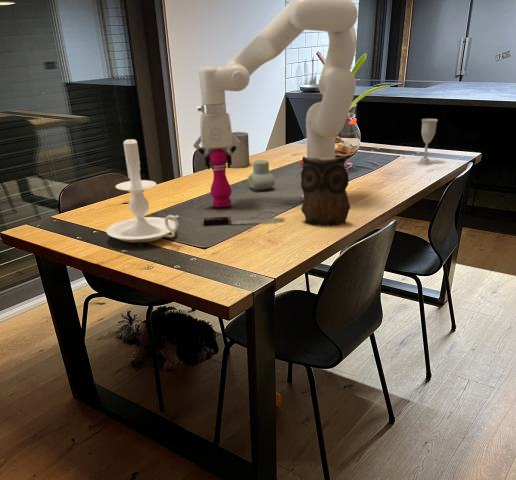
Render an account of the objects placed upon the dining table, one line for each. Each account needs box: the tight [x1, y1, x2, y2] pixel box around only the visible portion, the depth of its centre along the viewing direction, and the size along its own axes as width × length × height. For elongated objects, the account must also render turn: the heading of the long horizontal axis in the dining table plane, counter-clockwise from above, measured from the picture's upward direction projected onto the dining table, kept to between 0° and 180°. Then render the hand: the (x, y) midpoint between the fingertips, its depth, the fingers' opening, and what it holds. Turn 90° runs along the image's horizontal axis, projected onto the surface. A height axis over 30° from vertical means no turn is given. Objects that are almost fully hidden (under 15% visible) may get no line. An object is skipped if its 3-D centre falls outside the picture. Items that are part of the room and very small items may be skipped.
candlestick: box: [106, 138, 180, 244], centre depth 152 cm, size 21×25×28 cm
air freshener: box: [247, 159, 276, 191], centre depth 204 cm, size 11×8×10 cm
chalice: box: [418, 118, 439, 166], centre depth 231 cm, size 7×7×18 cm
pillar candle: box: [230, 130, 250, 169], centre depth 239 cm, size 10×10×15 cm
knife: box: [203, 216, 284, 227], centre depth 170 cm, size 25×4×2 cm, turn 95°
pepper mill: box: [208, 148, 232, 208], centre depth 181 cm, size 7×7×20 cm
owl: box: [300, 156, 351, 227], centre depth 163 cm, size 13×13×20 cm
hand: (218, 167), depth 179 cm, fingers closed on pepper mill, 6 cm apart
